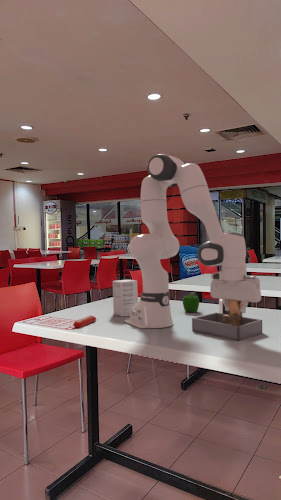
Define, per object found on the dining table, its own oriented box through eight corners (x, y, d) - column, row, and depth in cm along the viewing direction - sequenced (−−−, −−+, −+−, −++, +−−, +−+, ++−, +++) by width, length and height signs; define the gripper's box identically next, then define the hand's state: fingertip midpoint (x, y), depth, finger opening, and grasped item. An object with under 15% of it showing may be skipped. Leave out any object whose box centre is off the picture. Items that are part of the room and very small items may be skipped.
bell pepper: (182, 310, 191) (182, 290, 191) (198, 310, 190) (198, 290, 190) (183, 313, 183) (182, 293, 182) (199, 313, 182) (199, 293, 182)
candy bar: (79, 329, 155) (79, 322, 155) (71, 328, 156) (71, 321, 156) (97, 321, 170) (97, 314, 170) (90, 320, 171) (90, 314, 171)
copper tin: (225, 318, 139) (225, 299, 139) (233, 316, 142) (233, 298, 142) (237, 320, 135) (236, 301, 135) (244, 318, 139) (244, 299, 138)
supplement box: (138, 314, 181) (138, 280, 181) (122, 317, 176) (121, 282, 176) (128, 311, 189) (128, 279, 189) (112, 314, 184) (112, 280, 184)
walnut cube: (222, 328, 147) (222, 315, 147) (230, 325, 151) (229, 313, 151) (233, 330, 144) (233, 317, 144) (240, 327, 147) (240, 315, 147)
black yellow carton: (222, 316, 173) (222, 291, 173) (218, 313, 180) (218, 289, 180) (237, 316, 174) (237, 290, 173) (233, 313, 181) (233, 288, 180)
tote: (192, 330, 148) (192, 318, 147) (216, 324, 158) (216, 312, 158) (239, 340, 131) (238, 326, 131) (262, 332, 142) (262, 319, 142)
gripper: (264, 275, 133) (265, 314, 133) (217, 273, 148) (218, 307, 148) (254, 277, 129) (255, 316, 129) (207, 274, 144) (208, 310, 144)
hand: (235, 312), depth 139 cm, fingers closed on copper tin, 5 cm apart
